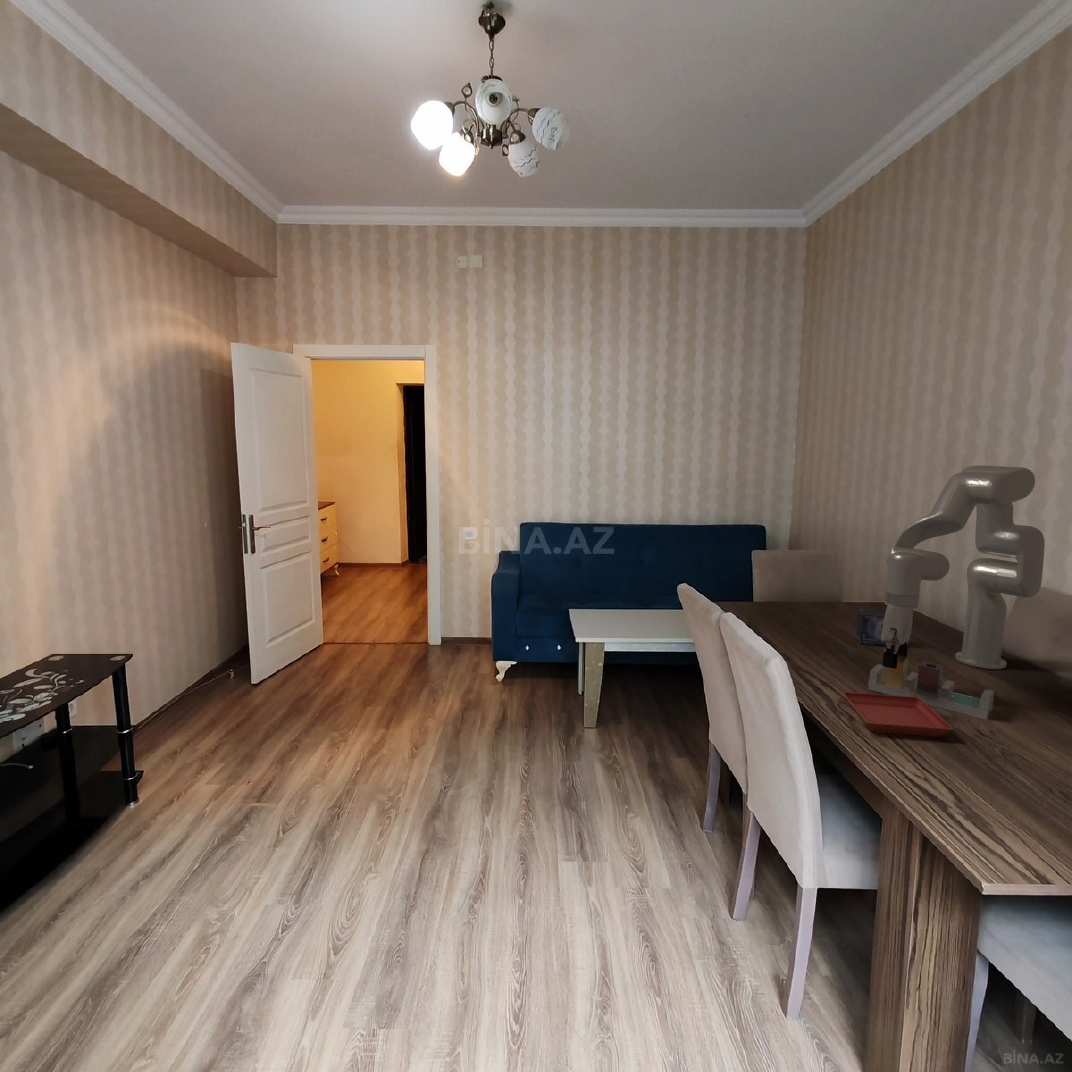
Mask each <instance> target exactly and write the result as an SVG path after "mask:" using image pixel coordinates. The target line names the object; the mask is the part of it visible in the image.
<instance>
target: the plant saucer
mask: <svg viewBox="0 0 1072 1072" xmlns="http://www.w3.org/2000/svg"><path fill="white" fill-rule="evenodd" d="M842 694H843V696H844V698H845V700H846V702H847V703H848V704H849V706H850V707H851V708H852V709H853V711H854V712H855V713H856V714H857V716H858V717H859V718H860V719H861V721H862V722H863V723H864V724H865V725H866V727H867V728H868V730H869V731H871V732H873V733H883V734H895V735H896V734H897V735H910V736H921V737H922V736H923V737H934V738H939V737H942V736H944V735H947V734H948V733H950V732H951V731H952V730H954V728H953V726H951V724H949V723H948V721H946V720H945V719H943V718H942V717H941V715H939V714H938V713H937V712H936V711H935V710H934V709H932V708H931V706H930V705H928V704H926V703H925V702H924V701H923V700H921V699H920V698H918V697H908V696H894V695H889V694H878V693H863V692H851V691H850V692H848V691H847V692H846V691H843V692H842Z"/></svg>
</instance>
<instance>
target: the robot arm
mask: <svg viewBox="0 0 1072 1072" xmlns="http://www.w3.org/2000/svg"><path fill="white" fill-rule="evenodd" d="M1035 485H1036V477H1035V474H1034V473H1033V471H1032V470H1030V469H1029V468H1026V467H1021V466H999V465H972V466H966V467H965V468H963V469H962V470H961V471H960V472H957V473H954V474H952V476H950V478H949V479H948V481H947V482H946V484H945V486H944V488H943V489H942V491H941V493H940V494H939V497H938V498H937V501H936V502H935V504H934V505H933V507H932V509H931V511H930V513H929V514H928V515H926V516H923V517H922V518H920V519H918V520H916V521H915V522H913V523H911V524H910V525H909V526H907V527H905V528H904V529H902V531H901V532H900V533H899V534H898V535H897V537H896V538H895V540H894V542H893V544H892V546H891V547H890V550H889V551H888V554H887V557H886V565H887V568H888V569H887V576H886V577H887V578H886V588H885V596H884V604H885V605H886V609H885V611H886V613H885V618H884V624H883V630H882V636H881V641H882V642H885V641H886V644H885V647H883V648H884V649H883V655H882V656H883V657H882V664H881V665H883V666H884V667H888V668H893V669H896V668H897V661H898V656H902V657H907V658H908V650H909V649H908V648H909V640H910V638H911V634H912V630H913V629H912V628H913V621H914V620H913V618H914V617H913V616H914V610H915V609H918V608H919V600H920V594H921V593H920V592H921V583H922V581H933V582H934V581H939V580H941V579H944V578H945V577H946V576H947V575H948V573H949V571H950V561H949V560H948V558H947V557H946V556H945V555H944V554H942V553H938V552H935V551H930V550H924V549H919V548H915V547H917V545H919V544H920V543H922V542H924V541H927V540H929V539H933V538H937V537H943V536H946V535H949V534H950V535H951V534H954V533H957V532H959V531H962V530H963V529H964V528H965V527H966V524H967V522H968V520H969V518H970V516H971V515H972V513H973V511H974V509H975V507H976V518H975V519H976V520H975V535H974V538H975V540H974V541H975V542H974V543H975V548H976V549H977V551H978V552H979V553H982V554H985V555H990V556H996V557H1002V558H1008V559H1015V560H1016V561H1011V560H1010V561H1009V560H1006V559H1005V560H1004V559H999V558H998V559H997V558H993V557H991V558H990V557H979V558H976V559H974V560H972V561H971V562H970V563H969V564H968V566H967V569H966V579H967V591H968V592H967V603H966V614H965V621H964V628H963V639H962V647H961V651H958V652H956V653H955V655H954V658H955V660H957V661H958V662H960V663H962V664H964V665H967V666H970V667H976V668H979V669H980V668H981V669H985V670H1002V669H1005V668H1007V661H1006V660H1005V659H1004V658H1001V657H1002V649H1003V642H1004V635H1005V634H1004V633H1005V625H1006V617H1007V613H1008V609H1007V608H1008V607H1007V603H1006V601H1005V599H1004V598H1003V596H1002V594H1004V595H1009V596H1014V597H1020V598H1032V597H1035V596H1036V595H1037V594H1038V593H1039V591H1040V589H1041V586H1042V580H1043V570H1044V561H1045V560H1044V559H1045V544H1046V543H1045V541H1046V540H1045V537H1044V534H1043V532H1042V531H1041V530H1040V529H1039V528H1038V527H1034V526H1030V525H1023V524H1021V525H1020V524H1015V523H1014V505H1013V503H1015V502H1017V501H1021V500H1024V499H1026V497H1028V496H1029V495H1030V494H1031V493H1032V491H1034V488H1035Z"/></svg>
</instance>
